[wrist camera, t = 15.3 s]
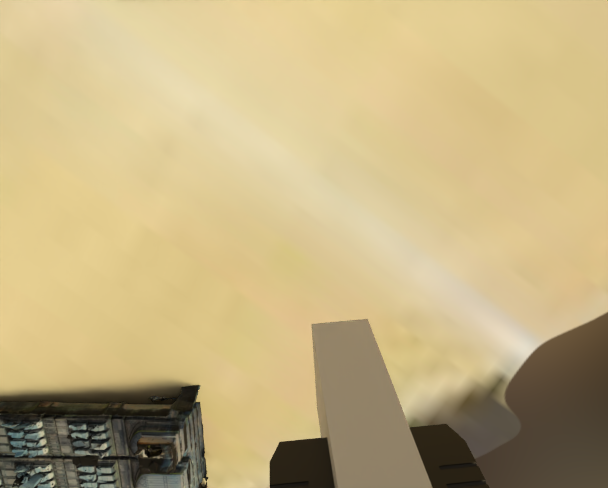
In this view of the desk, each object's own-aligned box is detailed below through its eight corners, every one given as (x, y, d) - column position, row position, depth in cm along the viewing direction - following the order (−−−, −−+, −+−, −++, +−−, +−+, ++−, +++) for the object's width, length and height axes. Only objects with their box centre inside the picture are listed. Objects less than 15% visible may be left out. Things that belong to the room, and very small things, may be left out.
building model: (202, 380, 48) (-93, 374, 49) (185, 427, 42) (-155, 421, 42) (210, 486, 53) (-60, 480, 53) (196, 544, 47) (-112, 537, 47)
